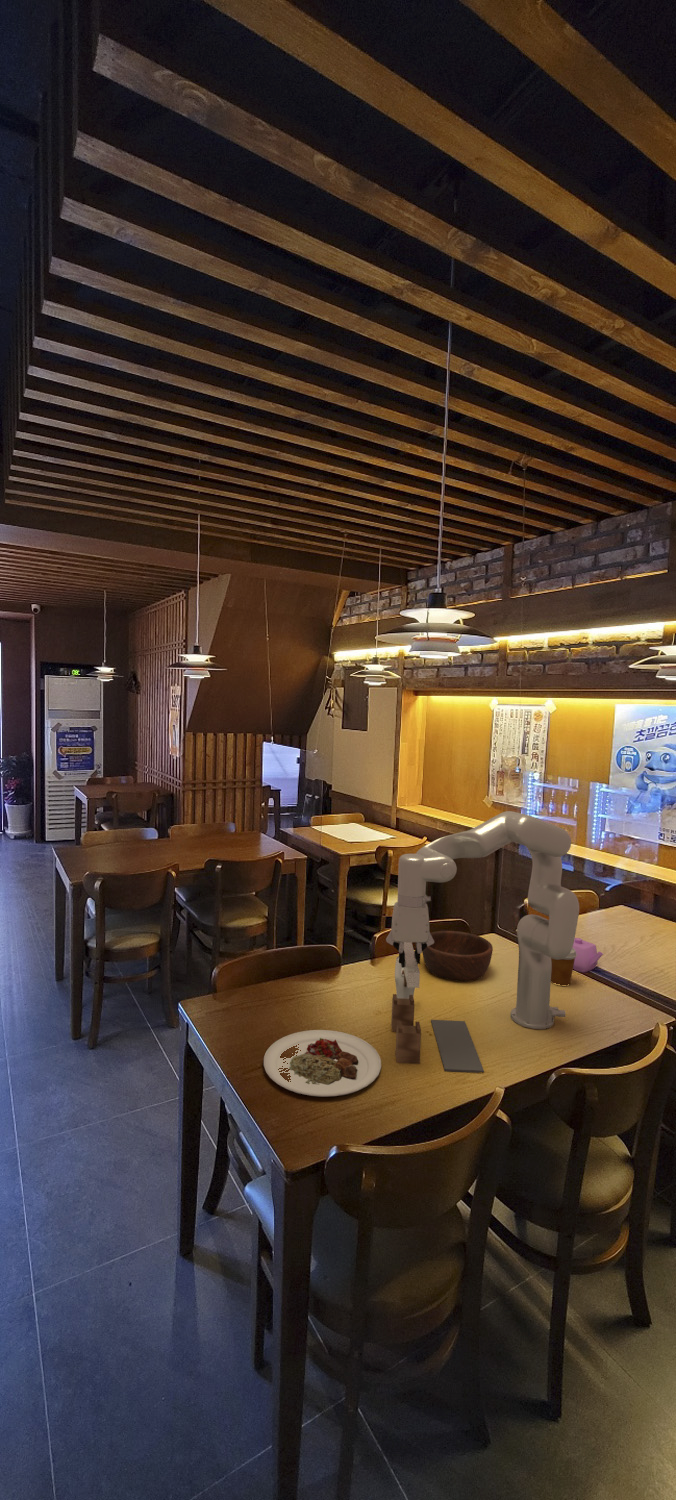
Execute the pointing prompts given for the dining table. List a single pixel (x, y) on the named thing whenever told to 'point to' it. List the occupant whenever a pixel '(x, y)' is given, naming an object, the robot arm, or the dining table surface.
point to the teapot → (585, 955)
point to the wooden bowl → (458, 955)
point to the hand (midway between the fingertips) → (409, 965)
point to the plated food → (323, 1063)
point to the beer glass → (402, 982)
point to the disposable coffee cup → (563, 969)
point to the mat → (456, 1046)
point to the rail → (411, 966)
